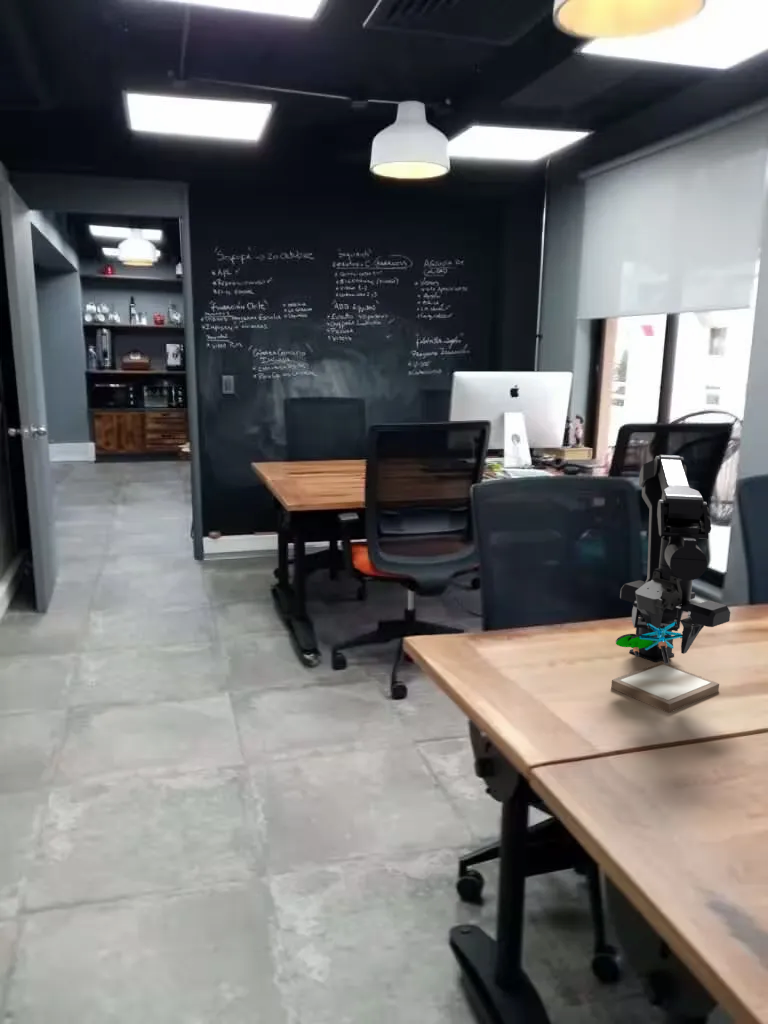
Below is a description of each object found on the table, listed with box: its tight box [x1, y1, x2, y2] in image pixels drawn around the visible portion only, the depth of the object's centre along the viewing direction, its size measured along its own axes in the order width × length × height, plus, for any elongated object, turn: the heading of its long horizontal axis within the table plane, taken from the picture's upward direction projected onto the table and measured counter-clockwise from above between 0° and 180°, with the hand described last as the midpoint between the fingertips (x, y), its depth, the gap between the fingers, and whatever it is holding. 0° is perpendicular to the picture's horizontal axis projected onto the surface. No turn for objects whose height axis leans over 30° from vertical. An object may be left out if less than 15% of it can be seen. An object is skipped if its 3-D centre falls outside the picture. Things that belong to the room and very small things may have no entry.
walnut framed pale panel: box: [610, 661, 720, 714], centre depth 138 cm, size 12×15×2 cm
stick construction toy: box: [615, 622, 683, 665], centre depth 135 cm, size 12×7×8 cm
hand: (668, 647), depth 137 cm, fingers closed on stick construction toy, 6 cm apart
